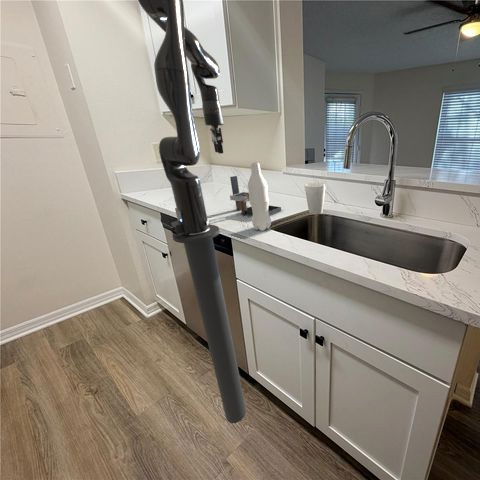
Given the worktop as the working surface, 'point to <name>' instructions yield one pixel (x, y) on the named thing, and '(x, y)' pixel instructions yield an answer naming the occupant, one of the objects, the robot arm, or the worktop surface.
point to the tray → (271, 210)
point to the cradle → (241, 206)
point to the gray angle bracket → (237, 191)
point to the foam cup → (315, 197)
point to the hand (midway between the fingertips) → (219, 152)
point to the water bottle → (259, 198)
